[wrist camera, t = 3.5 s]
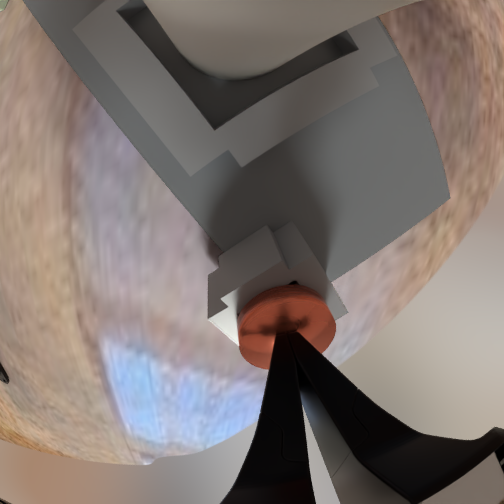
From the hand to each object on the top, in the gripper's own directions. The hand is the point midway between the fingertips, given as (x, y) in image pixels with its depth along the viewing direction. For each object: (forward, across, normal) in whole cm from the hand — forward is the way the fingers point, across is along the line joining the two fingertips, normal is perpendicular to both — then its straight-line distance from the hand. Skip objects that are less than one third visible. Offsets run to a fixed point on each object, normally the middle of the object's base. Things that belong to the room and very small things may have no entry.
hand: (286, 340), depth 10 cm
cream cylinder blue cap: (+4, 0, -11) cm, 12 cm away
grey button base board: (+5, 0, -11) cm, 12 cm away
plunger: (+4, 0, 0) cm, 4 cm away
